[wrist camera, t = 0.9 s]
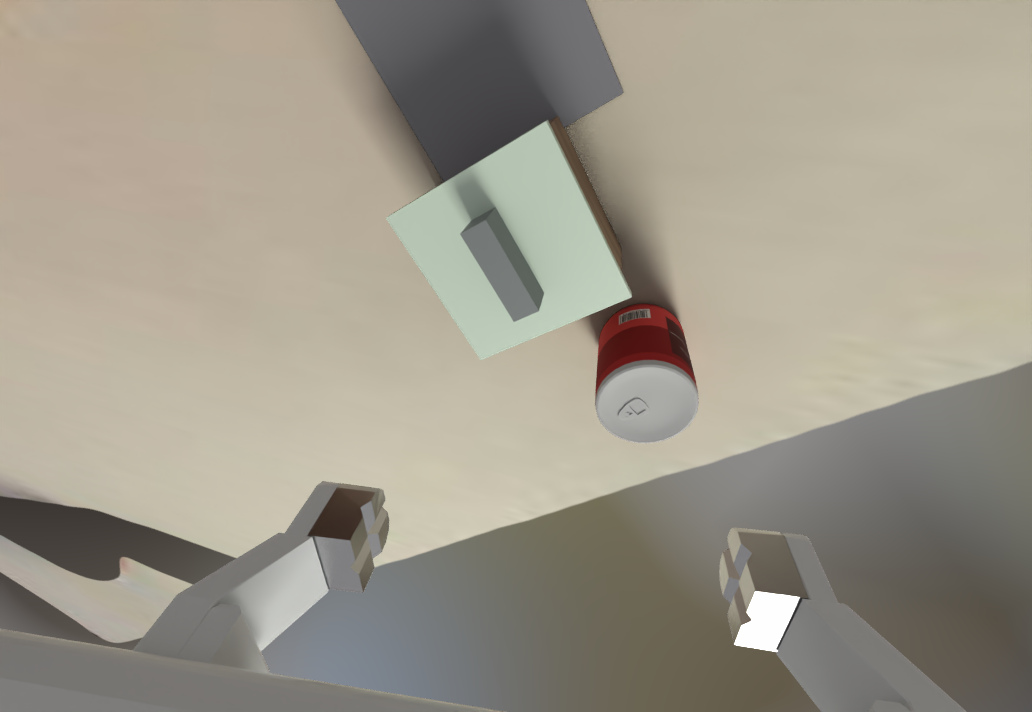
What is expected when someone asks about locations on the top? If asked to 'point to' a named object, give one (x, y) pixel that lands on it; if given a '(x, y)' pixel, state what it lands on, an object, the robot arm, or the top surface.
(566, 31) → the dark grey flat plate
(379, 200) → the top surface
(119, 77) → the top surface
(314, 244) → the top surface
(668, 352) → the canned food
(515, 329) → the lid
